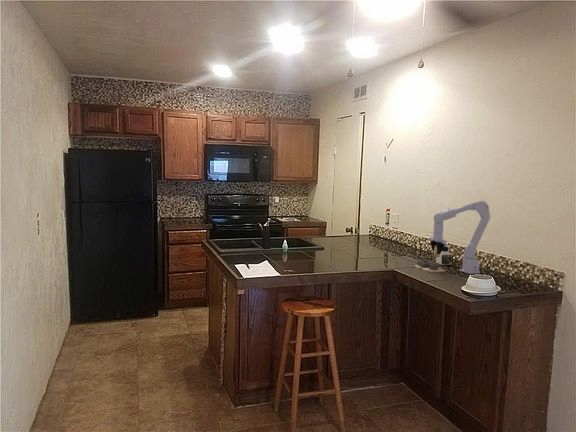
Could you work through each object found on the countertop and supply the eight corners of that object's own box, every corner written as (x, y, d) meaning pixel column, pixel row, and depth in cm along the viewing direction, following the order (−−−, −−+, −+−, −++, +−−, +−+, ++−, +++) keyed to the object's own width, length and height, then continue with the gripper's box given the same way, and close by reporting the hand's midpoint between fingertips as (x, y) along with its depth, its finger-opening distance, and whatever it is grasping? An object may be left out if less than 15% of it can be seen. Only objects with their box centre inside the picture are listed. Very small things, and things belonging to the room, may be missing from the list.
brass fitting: (440, 257, 281) (441, 246, 280) (436, 257, 280) (436, 246, 279) (437, 255, 284) (437, 245, 283) (432, 256, 283) (433, 245, 282)
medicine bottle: (441, 264, 291) (442, 246, 289) (435, 262, 298) (436, 244, 296) (451, 264, 292) (452, 246, 291) (445, 262, 299) (446, 244, 298)
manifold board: (445, 271, 272) (445, 265, 271) (430, 272, 268) (430, 266, 267) (427, 265, 287) (428, 259, 287) (413, 266, 284) (413, 260, 283)
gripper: (425, 230, 285) (424, 251, 287) (440, 234, 272) (439, 255, 274) (434, 230, 288) (433, 250, 289) (449, 233, 274) (448, 255, 276)
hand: (436, 253), depth 282 cm, fingers closed on brass fitting, 3 cm apart
